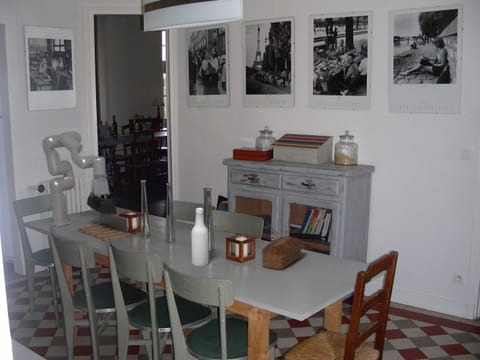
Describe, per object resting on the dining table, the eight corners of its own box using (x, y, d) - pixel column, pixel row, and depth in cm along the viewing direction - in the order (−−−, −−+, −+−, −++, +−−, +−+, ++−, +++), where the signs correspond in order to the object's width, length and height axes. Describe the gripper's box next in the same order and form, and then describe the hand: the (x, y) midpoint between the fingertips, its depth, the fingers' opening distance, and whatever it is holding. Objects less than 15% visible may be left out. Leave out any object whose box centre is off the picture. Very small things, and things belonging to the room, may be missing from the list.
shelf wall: (100, 224, 361) (100, 211, 360) (102, 224, 362) (101, 210, 360) (126, 233, 340) (125, 219, 339) (127, 232, 341) (127, 218, 340)
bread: (304, 257, 300) (304, 235, 298) (282, 272, 276) (282, 249, 274) (281, 253, 307) (281, 232, 304) (258, 267, 283) (258, 245, 280)
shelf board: (77, 230, 352) (77, 228, 352) (102, 225, 364) (101, 223, 364) (105, 241, 328) (105, 239, 328) (130, 235, 341) (130, 233, 340)
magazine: (118, 202, 330) (93, 181, 348) (114, 202, 328) (88, 182, 346) (115, 226, 336) (90, 205, 355) (110, 227, 334) (86, 206, 352)
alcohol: (208, 260, 293) (208, 206, 288) (208, 266, 284) (207, 210, 279) (192, 261, 293) (191, 206, 287) (191, 266, 284) (190, 210, 279)
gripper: (107, 174, 347) (109, 202, 351) (84, 177, 336) (86, 206, 339) (114, 175, 342) (115, 204, 345) (90, 179, 331) (92, 208, 334)
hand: (101, 205), depth 342 cm, fingers closed on magazine, 3 cm apart
